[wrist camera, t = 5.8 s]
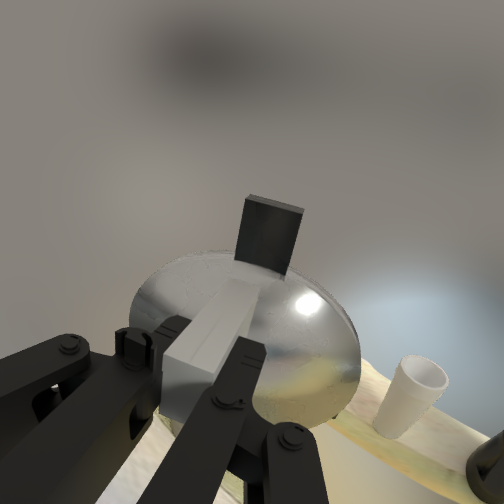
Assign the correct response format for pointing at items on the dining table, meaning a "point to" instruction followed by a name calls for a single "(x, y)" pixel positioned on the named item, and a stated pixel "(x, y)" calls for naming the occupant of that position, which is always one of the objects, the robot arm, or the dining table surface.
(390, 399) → the foam cup
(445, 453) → the dining table surface
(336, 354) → the cooker lid
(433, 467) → the dining table surface
